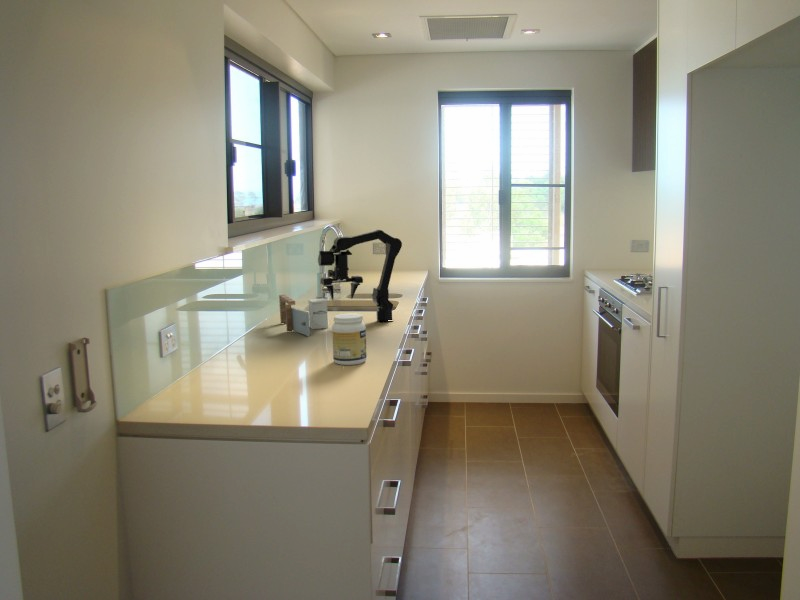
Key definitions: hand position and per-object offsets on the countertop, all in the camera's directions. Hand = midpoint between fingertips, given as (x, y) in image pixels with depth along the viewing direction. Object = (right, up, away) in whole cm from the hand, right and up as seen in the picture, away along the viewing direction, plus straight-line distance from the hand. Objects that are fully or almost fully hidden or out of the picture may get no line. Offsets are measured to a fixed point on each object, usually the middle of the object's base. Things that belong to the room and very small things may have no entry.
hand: (342, 299), depth 319 cm
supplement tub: (+8, -23, -66) cm, 71 cm away
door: (-17, -15, -15) cm, 27 cm away
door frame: (-25, -13, 0) cm, 28 cm away
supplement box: (-10, -13, -2) cm, 17 cm away
